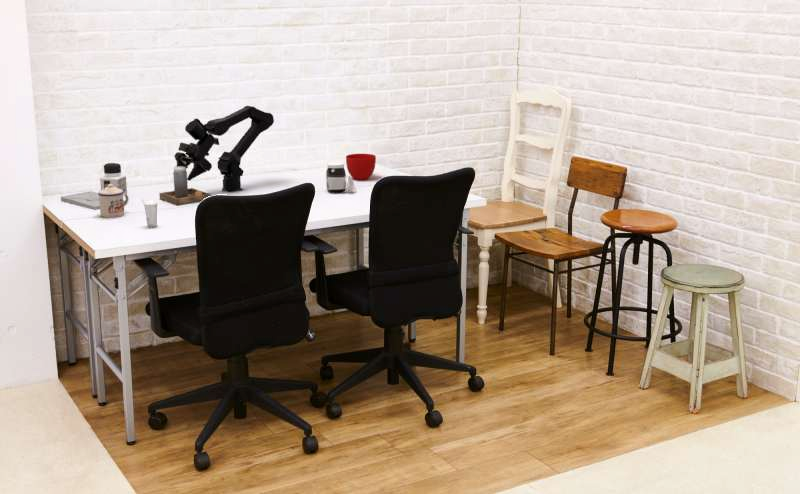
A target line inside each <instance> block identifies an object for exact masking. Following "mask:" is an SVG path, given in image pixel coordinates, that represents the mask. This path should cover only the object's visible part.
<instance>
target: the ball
mask: <svg viewBox="0 0 800 494" xmlns="http://www.w3.org/2000/svg"><path fill="white" fill-rule="evenodd" d="M201 191H202V190H199V191H196V192H195V196H198V195H203V193H202V192H203V191H202V192H201Z"/></svg>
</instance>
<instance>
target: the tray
mask: <svg viewBox="0 0 800 494" xmlns="http://www.w3.org/2000/svg"><path fill="white" fill-rule="evenodd" d="M196 191H201V192H202V193H203V195H198V196H195V192H196ZM158 193H159V200H161V201H164V202H166V203H170V204H172V205H175V206H182V205H188V204H195V203H201V202H200V201H202V200H203V199H204V198H206V197H208V196H210V197H211V194H210V193H208V192H205V191H202V190H199V189H196V188H188V197H185V198H178V199H177V198H175V192H174V190H171V191H163V192H158Z"/></svg>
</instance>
